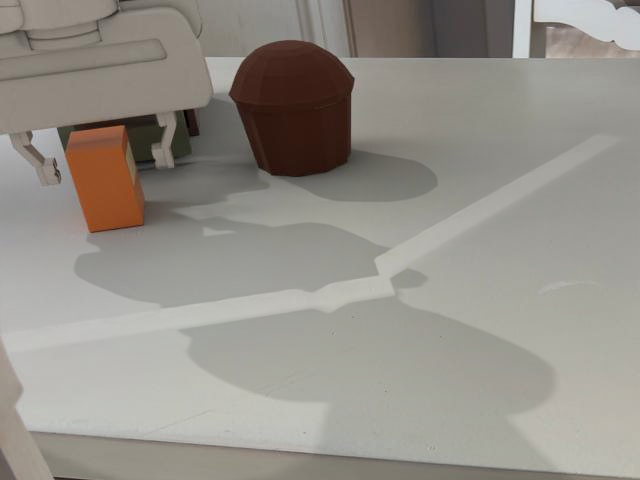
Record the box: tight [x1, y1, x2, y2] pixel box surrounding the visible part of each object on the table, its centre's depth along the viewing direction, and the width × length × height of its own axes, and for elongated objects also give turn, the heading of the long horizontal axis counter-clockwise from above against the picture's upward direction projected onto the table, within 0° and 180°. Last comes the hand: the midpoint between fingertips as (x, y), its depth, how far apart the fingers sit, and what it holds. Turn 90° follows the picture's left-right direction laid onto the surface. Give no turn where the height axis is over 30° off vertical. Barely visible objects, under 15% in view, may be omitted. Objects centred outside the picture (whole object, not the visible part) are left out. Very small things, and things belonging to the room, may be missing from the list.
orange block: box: [64, 125, 146, 233], centre depth 86 cm, size 5×6×6 cm
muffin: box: [228, 39, 356, 177], centre depth 93 cm, size 12×11×10 cm
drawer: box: [56, 110, 193, 163], centre depth 97 cm, size 19×11×8 cm, turn 13°
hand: (109, 175), depth 86 cm, fingers open, 8 cm apart
